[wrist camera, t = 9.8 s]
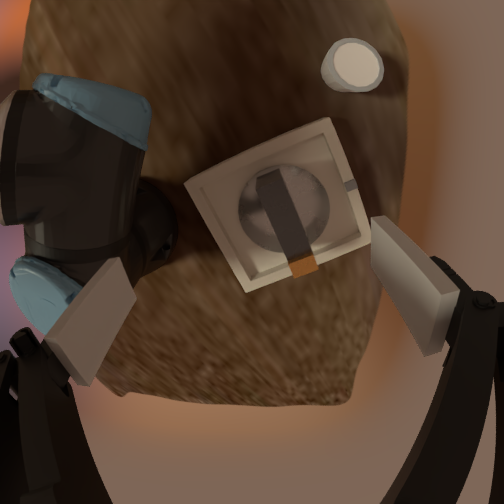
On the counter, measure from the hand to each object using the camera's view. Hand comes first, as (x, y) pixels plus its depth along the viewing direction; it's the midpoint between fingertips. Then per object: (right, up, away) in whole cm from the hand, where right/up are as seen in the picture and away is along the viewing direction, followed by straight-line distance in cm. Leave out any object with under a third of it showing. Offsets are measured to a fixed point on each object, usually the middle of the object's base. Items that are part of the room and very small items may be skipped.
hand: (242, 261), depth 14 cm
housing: (+5, +7, +25) cm, 27 cm away
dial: (+5, +6, +23) cm, 24 cm away
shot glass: (+12, +24, +17) cm, 32 cm away
